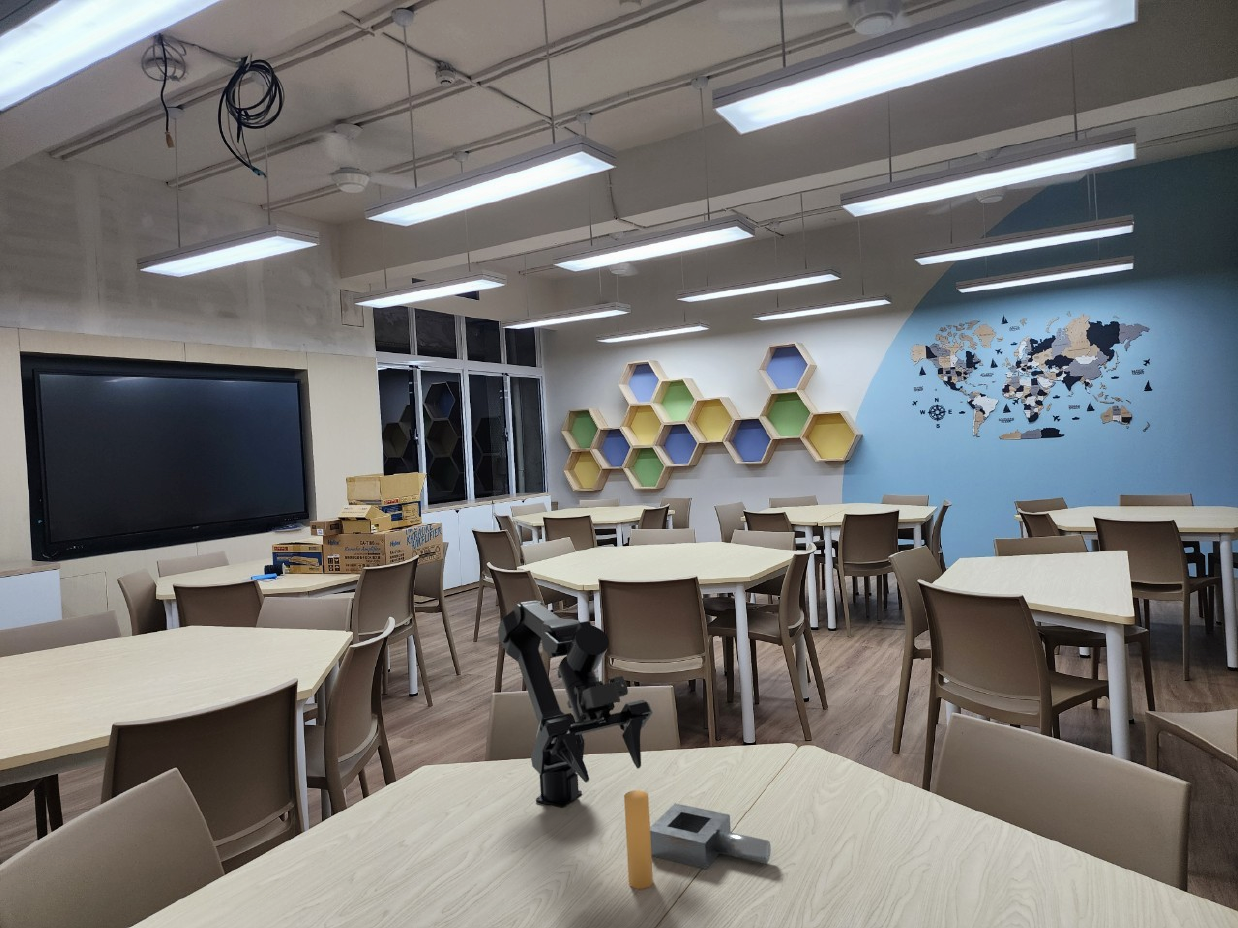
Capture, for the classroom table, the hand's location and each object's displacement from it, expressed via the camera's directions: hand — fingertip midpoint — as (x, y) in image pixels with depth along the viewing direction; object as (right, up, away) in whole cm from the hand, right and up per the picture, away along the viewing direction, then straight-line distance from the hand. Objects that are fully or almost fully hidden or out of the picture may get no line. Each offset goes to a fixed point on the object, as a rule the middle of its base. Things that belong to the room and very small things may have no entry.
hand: (613, 774), depth 120 cm
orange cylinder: (+4, -13, -7) cm, 16 cm away
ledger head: (+16, -12, 0) cm, 20 cm away
